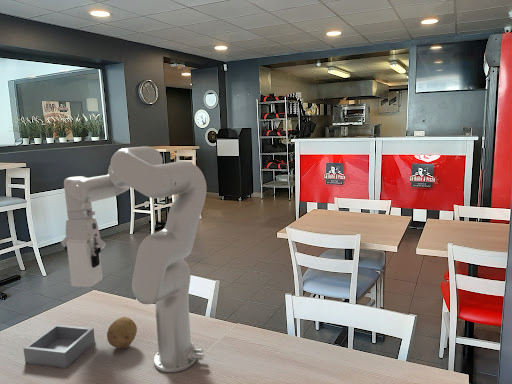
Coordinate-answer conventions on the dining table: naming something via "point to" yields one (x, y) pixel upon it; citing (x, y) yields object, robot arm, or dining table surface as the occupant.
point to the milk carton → (82, 264)
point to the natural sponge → (122, 332)
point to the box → (59, 346)
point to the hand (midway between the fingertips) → (85, 265)
